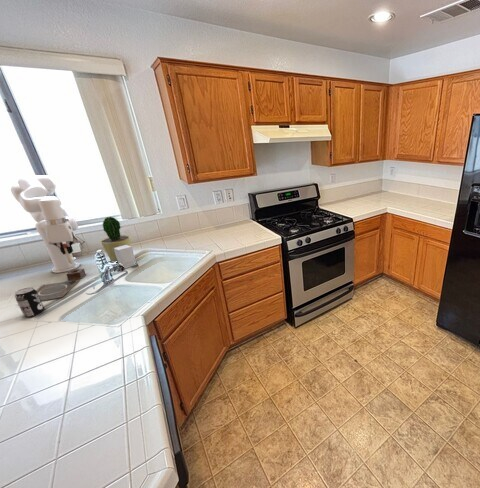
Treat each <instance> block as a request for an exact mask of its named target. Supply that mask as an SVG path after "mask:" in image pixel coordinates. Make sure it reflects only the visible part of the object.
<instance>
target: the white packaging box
mask: <svg viewBox="0 0 480 488" xmlns="http://www.w3.org/2000/svg"><path fill="white" fill-rule="evenodd" d="M114 251H115V254H116V257H117V261H118V263H121V264H123V266H124V268H123V269H128V268H131V267H134V266H137V265H138V263H137V260H136V257H135V253H134V250H133V246H129V245H123V246H120V247H116V248H114ZM118 263H117V264H118ZM134 263H136V264H134Z"/></svg>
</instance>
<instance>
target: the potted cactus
mask: <svg viewBox="0 0 480 488" xmlns="http://www.w3.org/2000/svg"><path fill="white" fill-rule="evenodd" d="M120 222H121V221H120V220H118V219H117V218H116V217H114V216H107V217H104V219H103V221H102V225H101V227H102V228H103V232H104V233H105V234H106V236H107V237H106V238H103V239H101V240H100V244H101V246H102V248H103V249H104V251H105V252H106V255H107V257H108V258H109V260H110V262H111V261H117V257H116V254H115V251H114V248H116V247H120V246H123V245H129V246H131V236H130V235H126V234H125V235H124V234H123V235H122V234H121V228H122V226H121V223H120ZM131 247H132V246H131ZM117 262H118V261H117Z"/></svg>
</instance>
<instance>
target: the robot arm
mask: <svg viewBox="0 0 480 488" xmlns="http://www.w3.org/2000/svg"><path fill="white" fill-rule="evenodd" d="M56 187H57V185H56V181H54V179H53V178H52V177H51V176H50V175H46V174H43V175H42V174H41V175H27V176H23V177H20V178H19V179H18V180H17V183H16V184H14V185H12V186H11V187H10V193H11V194H12V196H13V197H14V199H15V200H16V201H17V202H18V203H19V204H20V206H21V207H22V209H23V210H24V211H25V212H27V213H29V214H30V216H31V217H32V218H33V220H34V221H35V222H36V223H35V229H36V231H37V232H38V234H39V236H40V237H41V239H42V241H43V243H44V245H45V248H46V250H47V253H48V255H49V257H50V260H51V262H52V265H53V268H52V269H51V272H52V273H54V274H58V273H59V274H60V273H66V272H69V271H71V270H76V269H78V268H79V267H80V263H79V262H76V260H77V257H75V256H73V253H74V249H73V244H75V243H77V242H78V241H79V240H78V239H77V236H76V234H75V232H76V231H77V230H78V228H79V225H78V222H77V221H76V218H75V217H74V216H73V214H72V213H71V212H70V210H69V209H68V208H67V206H65V205H62V202H61V200H60V199H59V198H58V197H56V196H55V195H54V193H55V191H56ZM65 243H66V244H67V247H66V248H67V251H68V253H69V254H71V257H72V260H73V262H72V263H73V264H70V263H69V261H68V259H67V256H66V253H65V250H64V248H63V245H62V244H65Z"/></svg>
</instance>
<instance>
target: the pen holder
mask: <svg viewBox="0 0 480 488" xmlns="http://www.w3.org/2000/svg"><path fill="white" fill-rule="evenodd" d="M86 275H87V273H86V270H85V269H84V268H75V269H73V270H70V271H67V273H66V274H65V276H66V279H67V281H74V280H78V279H80V280H82V279H83V278H84V277H85V276H86Z"/></svg>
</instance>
